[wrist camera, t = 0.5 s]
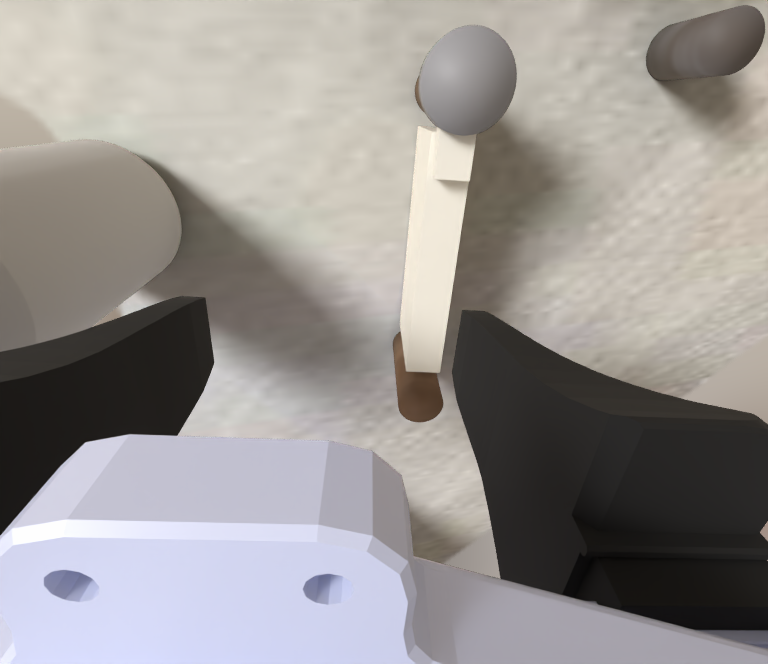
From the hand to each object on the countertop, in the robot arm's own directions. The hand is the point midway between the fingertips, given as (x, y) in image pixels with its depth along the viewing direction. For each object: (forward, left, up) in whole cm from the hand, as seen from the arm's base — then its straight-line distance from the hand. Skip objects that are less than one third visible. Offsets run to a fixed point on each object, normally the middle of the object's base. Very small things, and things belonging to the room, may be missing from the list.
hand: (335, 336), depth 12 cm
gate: (+2, -4, -10) cm, 11 cm away
